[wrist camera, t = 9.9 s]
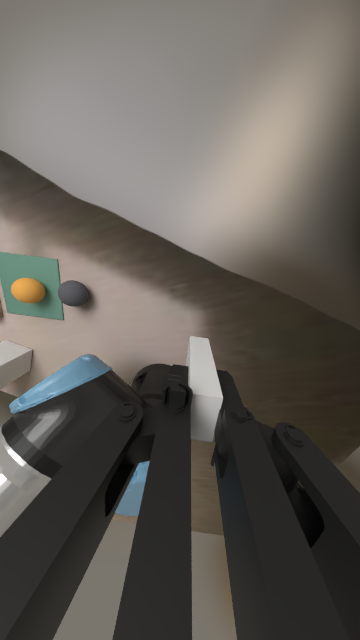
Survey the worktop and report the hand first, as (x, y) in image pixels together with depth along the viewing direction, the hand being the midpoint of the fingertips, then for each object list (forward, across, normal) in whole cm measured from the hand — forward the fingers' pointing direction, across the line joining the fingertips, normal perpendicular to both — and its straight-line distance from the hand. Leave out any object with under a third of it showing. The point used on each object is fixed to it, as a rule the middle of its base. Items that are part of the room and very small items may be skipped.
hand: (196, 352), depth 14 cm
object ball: (+22, +36, +2) cm, 42 cm away
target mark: (+24, +38, +2) cm, 45 cm away
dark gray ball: (+22, +26, +2) cm, 34 cm away
